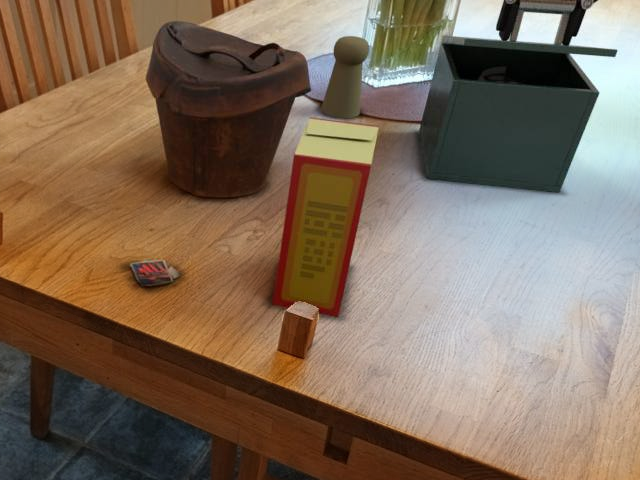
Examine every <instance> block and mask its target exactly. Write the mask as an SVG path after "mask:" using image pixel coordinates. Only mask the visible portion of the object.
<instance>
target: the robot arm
mask: <svg viewBox="0 0 640 480" xmlns="http://www.w3.org/2000/svg"><path fill="white" fill-rule="evenodd" d="M598 1H599V0H577V2H576V6H575V9H574V11H573V13H572V14H571V15H570V16H569V20H568V23H567V27H566V30H565V34H564V37H563V41H562V44H563V45H565V46H569V45H571V42H572V40H573V37H574V38H576V37H578V34H579V32H580V28H581V26H582V23H583V20H584V19H585V15H586V12H587V10H589V9H591V8H592V7H593V5H594V4H595V3H596V2H598ZM517 2H518V0H503V1H502V5H501V8H500V11H499V15H498V18H497V21H496V25H495V30H496V31H497V32H498V37H499V38H500V40H502V41H507V40H509V39H510V35H511V32H512V28H513V25H514V22H515V19H516V16H517V12H518V9H519V5H518V3H517Z"/></svg>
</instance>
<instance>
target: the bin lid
mask: <svg viewBox="0 0 640 480" xmlns="http://www.w3.org/2000/svg"><path fill="white" fill-rule="evenodd" d="M576 2H577V0H518V2H517V3H518V5H519V9H518V12H517V16H516V19H515V22H514V25H513V28H512V32H511V35H510V38H509V40H507V41H502V40H501V39H496V38H483V37H482V38H481V37H469V36H468V37H467V36H456V35H442V38H441V42H446V43H452V44H458V45H463V46H475V47H488V48H501V49H514V50H527V51H541V52H554V53H567V54H570V55H583V56H595V57H606V58H616V57H617V53H618V49H615V48H607V47H605V48H604V47H594V46H585V45H575V44H574V45H573V44H569V46H565V45H563V44H562V41H563V37H564V34H565V30H566V27H567V23H568V20H569V16H570V15H571V14H572V13H573V11H574V9H575V6H576ZM525 13H533V14H534V13H535V14H549V15H561V17H560V19H559V24H558V26H557V30H556V34H555V38H554V41H553V43H547V42H538V41H537V42H534V41H523V40H521V41H520V40H518V37H519V32H520V29H521V25H522V22H523V17H524V14H525Z"/></svg>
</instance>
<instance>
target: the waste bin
mask: <svg viewBox="0 0 640 480" xmlns="http://www.w3.org/2000/svg"><path fill="white" fill-rule="evenodd" d="M495 67H506V71H505V75H506V76H508V77H509V78H511V79H512V80H514V81H517V82H520V83H523V84H515V83H503V82H491V81H479V80H477V79H478V78H479V76H481V75H482V72H483V71H485V70H487V69H490V68H495ZM599 95H600V91H599V90H598V88H597V87H596V86H595V85H594V83H593V82H592V81H591V79H590V78H589V77H588V76H587V74H586V72H584V70H583V69H582V68H581V66H580V65H579V64H578V63H577V61H576V60H575V58H574V57H573V56H572V54H567V53H554V52H541V51H527V50H514V49H501V48H488V47H475V46H463V45H458V44H452V43H446V42H442V41H441V43H440V46H439V50H438V55H437V58H436V62H435V66H434V69H433V73H432V78H431V81H430V86H429V89H428V94H427V97H426V101H425V106H424V110H423V114H422V118H421V121H420V125H419V129H418V134H419V140H420V141H419V142H420V147H421V152H422V158H423V164H424V169H425V174H426V179H428V180H436V181H437V180H438V181H447V182H457V183H466V184H475V185H476V184H477V185H484V186H485V185H486V186H493V187H494V186H495V187H503V188H514V189H525V190H534V191H544V192H553V193H560V192H561V190H562V187H563V185H564V182H565V179H566V178H567V175H568V173H569V170H570V168H571V165H572V163H573V160H574V157H575V155H576V152H577V150H578V148H579V145H580V142H581V140H582V138H583V135H584V133H585V130H586V128H587V125H588V123H589V121H590V118H591V115H592V113H593V111H594V108H595V105H596V103H597V100H598V98H599Z"/></svg>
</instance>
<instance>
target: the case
mask: <svg viewBox="0 0 640 480" xmlns="http://www.w3.org/2000/svg"><path fill="white" fill-rule="evenodd" d="M308 65H309V64H308V61H307V58H306V56H305V55H304V54H303V53H302V52H300V51H298V50H291V49H286V48H284V47H282V46H281V45H279V44H278V43H276V42H269V43H267V44H260V43H256V42H252V41H249V40H246V39H243V38H241V37H238V36H235V35H233V34H230V33H226V32H223V31H220V30H216V29H213V28H209V27H206V26H202V25H199V24H195V23H193V22H188V21H180V20H173V21H168V22H165V23H164V24H162V26H161V27H160V28H159V29H158V31H157V33H156V34H155V37H154V39H153V43H152V50H151V54H150V59H149V64H148V68H147V71H146V74H145V82H146V84H147V87H148V89H149V91H150V93H151V96H152V97H153V99H155V104H156V111H157V115H158V121H159V127H160V134H161V139H162V144H163V149H164V155H165V156H164V157H165V160H166V167H167V172H168V177H169V179H170V180H171V181H172V182H173V183H174V184H175V185H176V186H177V187H178V188H180V189H182V190H184V191H186V192H188V193H190V194H193V195H194V196H199V197H202V198H210V199H211V198H214V199H227V198H239V197H245V196H249V195H252V194H254V193H257V192H259V191H260V190H262V189H263V188H264V186H265V185H266V183H267V178H268V175H269V174H270V173H269V172H270V169H271V166H272V165H273V161H274V159H275V156H276V154H277V150H278V147H279V145H280V142H281V139H282V137H283V134H284V132H285V128H286V126H287V123H288V120H289V117H290V114H291V111H292V108H293V106H294V103H295V100H296V98H300V97H303V96H306V95H307V94H308V93H310V92H311V91H312V87H311V81H310V73H309V66H308Z"/></svg>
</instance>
